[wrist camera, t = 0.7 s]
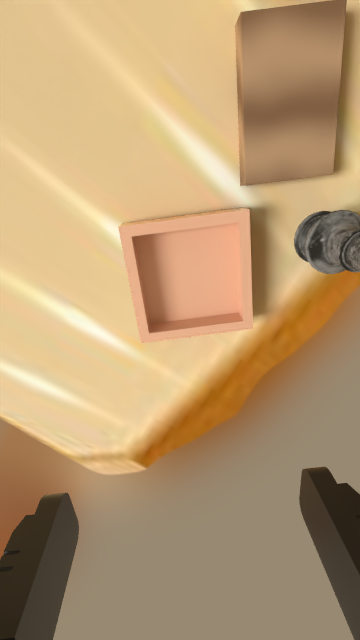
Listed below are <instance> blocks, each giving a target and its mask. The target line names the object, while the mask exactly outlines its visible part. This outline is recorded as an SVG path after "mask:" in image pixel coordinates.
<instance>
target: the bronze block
mask: <svg viewBox="0 0 360 640" xmlns="http://www.w3.org/2000/svg"><path fill="white" fill-rule="evenodd" d="M346 2H347V0H332V1H324V2H316V3H308V4H300V5H292V6H284V7H276V8H269V9H261V10H253V11H245V12H241V13H240V16H239V18H238V20H237V23H236V25H235V32H236V63H237V93H238V124H239V155H240V186H241V185H252V184H260V183H268V182H276V181H284V180H292V179H300V178H308V177H316V176H324V175H332V174H333V168H334V155H335V143H336V130H337V117H338V104H339V91H340V79H341V66H342V53H343V40H344V27H345V15H346Z"/></svg>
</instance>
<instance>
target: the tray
mask: <svg viewBox="0 0 360 640" xmlns="http://www.w3.org/2000/svg"><path fill="white" fill-rule="evenodd" d="M119 232H120V237H121V243H122V248H123V253H124V258H125V263H126V268H127V273H128V278H129V283H130V288H131V294H132V299H133V304H134V309H135V314H136V319H137V324H138V329H139V334H140V339H141V343H145V342H153V341H161V340H168V339H176V338H184V337H191V336H199V335H207V334H214V333H222V332H230V331H237V330H245V329H253V309H252V275H251V241H250V209H246V208H235V209H228V210H220V211H213V212H205V213H198V214H190V215H182V216H175V217H167V218H160V219H152V220H145V221H137V222H130V223H123V224H121V225H120V226H119Z"/></svg>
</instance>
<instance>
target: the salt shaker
mask: <svg viewBox="0 0 360 640" xmlns="http://www.w3.org/2000/svg"><path fill="white" fill-rule="evenodd" d="M294 245H295V249H296V252H297V254H298V255H299V256H300V257H301V258H302V259H303V260H305V261H307V262H309V263H310V264H311V266H312V267H313V268H315V269H316V270H317V271H320V272H322V273H327V274H334V273H339V272H342V271H344V270H348V271H350V272H360V216H359V215H358V214H356V213H354V212H351V211H346V210H339V211H334V212H328V211H321V212H316V213H314V214H312V215H310V216H308V217H307V218H306V219H304V220H303V221H302V223H301V224H300V225H299V227H298V229H297V231H296V234H295V238H294Z"/></svg>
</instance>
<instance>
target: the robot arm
mask: <svg viewBox="0 0 360 640" xmlns="http://www.w3.org/2000/svg"><path fill="white" fill-rule="evenodd" d="M299 500H300V507H301V512H302V515H303V518H304V521H305V523H306V526H307V528H308V530H309V533H310V535H311V538H312V540H313V542H314V545H315V547H316V549H317V552H318V554H319V557H320V559H321V561H322V563H323V566H324V568H325V571H326V573H327V576H328V578H329V580H330V582H331V585H332V587H333V590H334V592H335V595H336V597H337V599H338V602H339V604H340V607H341V609H342V611H343V613H344V616H345V618H346V621H347V623H348V626H349V628H350V630H351V633H352V635H353V637H354V639H355V640H360V494H359V493H357V492H356V491H355V490H354V489H353V488H352V487H351V486H350V485H348V484H347V483H342V484H337V483H336V481H335V479H334V478H333V476H332V474H331V472H330V471H329V470H328V468H326V467H318V468H308V469H303V470H302V477H301V487H300V498H299ZM78 533H79V525H78V520H77V517H76V514H75V511H74V508H73V505H72V502H71V500H70V497H69V494H68V493H59V494H50V495H44V496H43V497H42V498H41V500H40V502H39V505H38V508H37V510H36V512H35V515H26V516H25V517H24V519H23V520H22V521H21V522H20V524H19V525H18V526H17V527H16V529H15V530H14V531H13V533H12V535H11V537H10V539H9V541H8V544H7V546H6V548H5V550H4V555H3V556H2V557H1V559H0V640H53V636H54V633H55V628H56V624H57V621H58V616H59V613H60V609H61V605H62V601H63V597H64V593H65V589H66V585H67V581H68V577H69V572H70V569H71V565H72V561H73V557H74V553H75V549H76V545H77V541H78Z"/></svg>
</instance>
